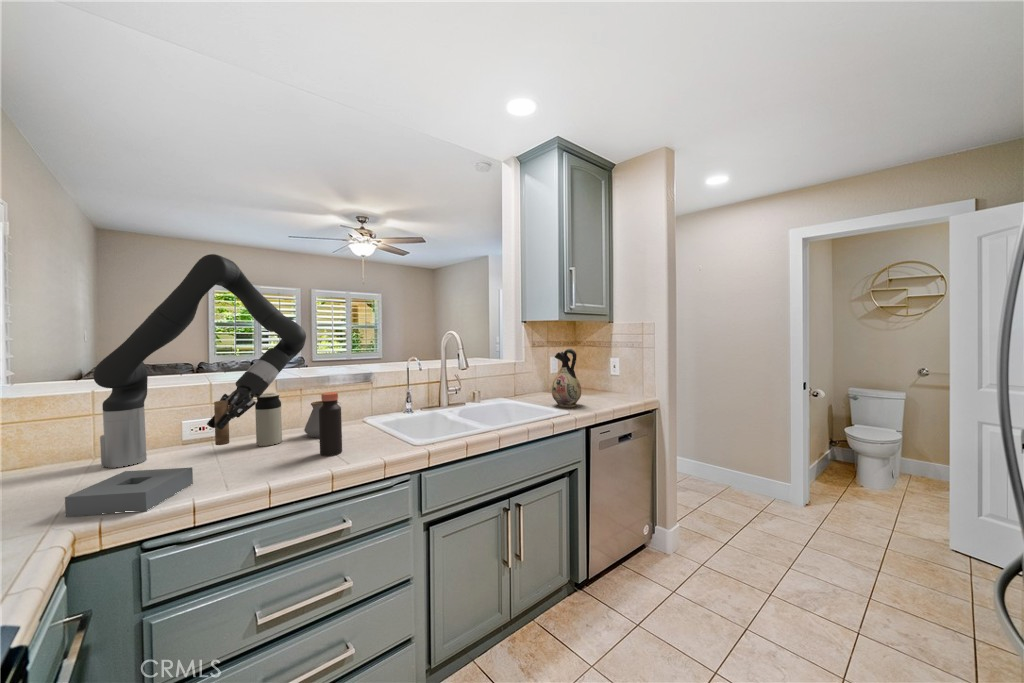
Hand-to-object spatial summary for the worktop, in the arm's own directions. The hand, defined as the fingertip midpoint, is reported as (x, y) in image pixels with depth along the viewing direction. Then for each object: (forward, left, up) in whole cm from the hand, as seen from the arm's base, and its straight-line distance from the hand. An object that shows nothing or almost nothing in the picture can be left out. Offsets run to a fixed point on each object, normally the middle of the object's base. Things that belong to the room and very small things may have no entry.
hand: (213, 426), depth 108 cm
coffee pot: (+17, +39, -15) cm, 45 cm away
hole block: (-12, -11, -14) cm, 22 cm away
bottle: (+25, +18, -15) cm, 34 cm away
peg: (+1, +2, -5) cm, 6 cm away
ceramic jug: (+124, +78, -15) cm, 147 cm away
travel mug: (-1, +34, -15) cm, 37 cm away
